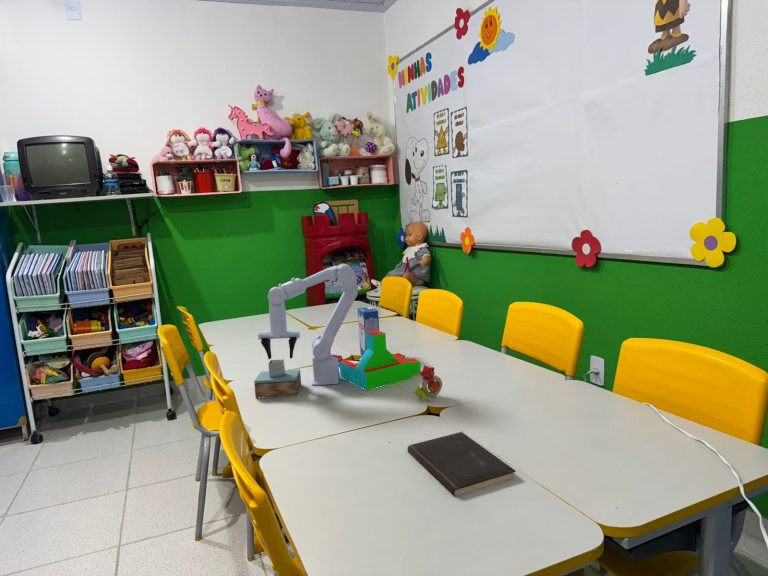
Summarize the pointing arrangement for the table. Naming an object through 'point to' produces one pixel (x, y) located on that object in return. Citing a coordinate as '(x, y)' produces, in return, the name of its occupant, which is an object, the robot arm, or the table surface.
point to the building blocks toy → (378, 365)
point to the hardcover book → (460, 463)
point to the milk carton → (367, 325)
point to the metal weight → (276, 368)
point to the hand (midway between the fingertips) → (280, 358)
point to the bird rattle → (428, 380)
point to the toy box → (278, 388)
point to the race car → (338, 357)
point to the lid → (288, 376)
